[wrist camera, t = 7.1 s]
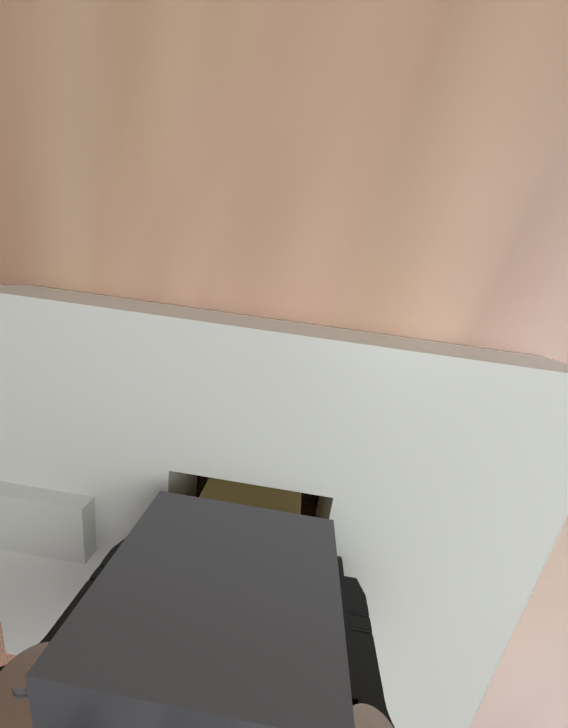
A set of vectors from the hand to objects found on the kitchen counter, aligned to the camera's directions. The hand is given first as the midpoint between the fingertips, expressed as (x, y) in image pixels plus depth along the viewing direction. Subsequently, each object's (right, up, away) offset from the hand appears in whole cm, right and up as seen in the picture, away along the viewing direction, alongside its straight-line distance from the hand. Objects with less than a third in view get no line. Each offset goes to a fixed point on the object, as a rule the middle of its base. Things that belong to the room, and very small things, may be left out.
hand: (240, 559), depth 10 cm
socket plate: (0, +1, +3) cm, 3 cm away
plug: (0, +1, +2) cm, 2 cm away
